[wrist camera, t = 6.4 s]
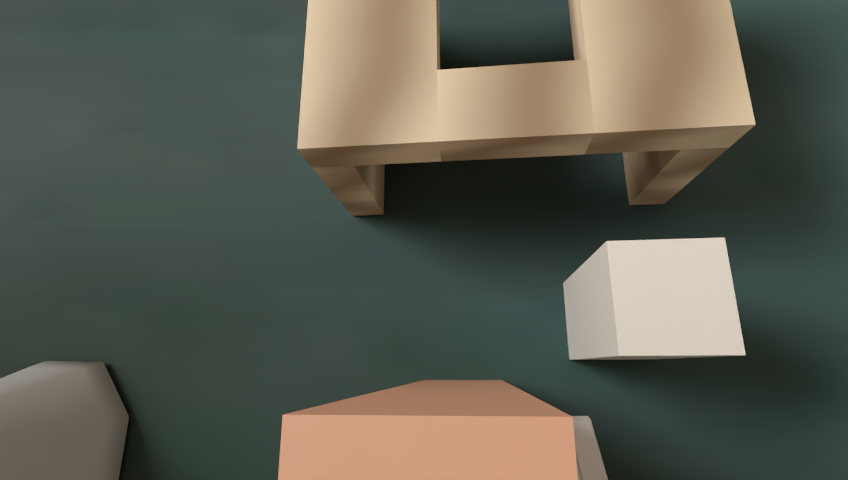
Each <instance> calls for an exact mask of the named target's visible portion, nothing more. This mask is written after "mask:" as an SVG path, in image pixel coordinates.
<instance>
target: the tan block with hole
mask: <svg viewBox="0 0 848 480" xmlns="http://www.w3.org/2000/svg"><path fill="white" fill-rule="evenodd" d="M568 1H569V11H570V21H571V31H572V41H573V50H574V60H573V61H558V62H544V63H529V64H515V65H500V66H486V67H472V68H457V69H443V70H440V23H439V0H308V11H307V25H306V38H305V52H304V65H303V79H302V92H301V105H300V119H299V132H298V146H297V149H298V150H299V152H300V153H301V154H302V155H303V157H304V158H305V159H306V160H307V161H308V163H309V164H310V165H311V166H312V167H313V169H314V170H315V171H316V172H317V174H318V175H319V176H320V177H321V178H322V180H323V181H324V182H325V183H326V185H327V186H328V187H329V188H330V189H331V191H332V192H333V193H334V194H335V195H336V197H337V198H338V199H339V200H340V202H341V203H342V204H343V205H344V206H345V208H346V209H347V210H348V211H349V212H350V214H351V215H352V216H356V215H383V214H384V171H385V164H400V163H421V162H441V161H462V160H482V159H503V158H523V157H544V156H564V155H585V154H605V153H622V154H623V162H624V170H625V178H626V186H627V194H628V202H629V205H649V204H665V203H666V202H667V201H668V200H670V199H671V198H672V197H673V196H674V195H675V194H676V193H678V192H679V191H680V190H681V189H682V188H683V187H685V186H686V185H687V184H688V183H689V182H690V181H691V180H693V179H694V178H695V177H696V176H697V175H698V174H699V173H701V172H702V171H703V170H704V169H705V168H706V167H708V166H709V165H710V164H711V163H712V162H713V161H714V160H716V159H717V158H718V157H719V156H720V155H721V154H722V153H724V152H725V151H726V150H727V149H728V148H729V147H730V146H732V145H733V144H734V143H735V142H736V141H737V140H739V139H740V138H741V137H742V136H743V135H744V134H745V133H747V132H748V131H749V130H750V129H751V128H752V127H753V126H755V125H756V123H755V119H754V114H753V109H752V104H751V100H750V95H749V90H748V85H747V81H746V76H745V71H744V66H743V62H742V57H741V52H740V47H739V42H738V38H737V33H736V28H735V23H734V19H733V14H732V9H731V4H730V0H568Z"/></svg>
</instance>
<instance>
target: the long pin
mask: <svg viewBox="0 0 848 480" xmlns="http://www.w3.org/2000/svg"><path fill="white" fill-rule="evenodd" d="M278 480H578V475H577V463H576V451H575V438H574V426H573V417H572V416H570V415H568V414H566V413H564V412H563V411H561V410H559V409H557V408H555V407H553V406H551V405H549V404H547V403H545V402H543V401H541V400H539V399H538V398H536V397H534V396H532V395H530V394H528V393H526V392H524V391H522V390H520V389H518V388H516V387H514V386H513V385H511V384H509V383H507V382H505V381H503V380H422V381H418V382H414V383H410V384H406V385H402V386H398V387H394V388H390V389H386V390H381V391H377V392H373V393H369V394H365V395H361V396H357V397H353V398H349V399H345V400H341V401H336V402H332V403H328V404H324V405H320V406H316V407H312V408H308V409H304V410H300V411H296V412H291V413H287V414H283V418H282V432H281V446H280V460H279V474H278Z"/></svg>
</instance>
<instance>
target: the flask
mask: <svg viewBox="0 0 848 480" xmlns="http://www.w3.org/2000/svg"><path fill="white" fill-rule="evenodd" d="M128 421H129V415H128V413H127V411H126V409H125V407H124V405H123V403H122V401H121V398H120V396H119V394H118V392H117V390H116V388H115V386H114V384H113V381H112V379H111V377H110V375H109V373H108V371H107V369H106V367H105V364H104V362H77V361H45V362H42V363H39V364H36V365H34V366H31V367H28V368H25V369H23V370H20V371H18V372H15V373H13V374H10V375H8V376H5V377H3V378H0V480H119V474H120V468H121V462H122V456H123V450H124V444H125V439H126V433H127V427H128Z"/></svg>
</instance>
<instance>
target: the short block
mask: <svg viewBox="0 0 848 480" xmlns="http://www.w3.org/2000/svg"><path fill="white" fill-rule="evenodd" d="M563 288H564V300H565V312H566V325H567V337H568V349H569V360H639V359H672V358H695V357H717V356H740V355H746V354H745V348H744V343H743V337H742V331H741V326H740V320H739V314H738V309H737V303H736V298H735V292H734V286H733V281H732V275H731V270H730V264H729V258H728V253H727V247H726V241H725V238H692V239H658V240H624V241H606V242H605V243H604V244H603V245H602V246H601V247H600V248H599V249H598V250H597V251H596V252H595V253H594V254H593V255H592V256H591V257H590V258H588V259H587V260H586V261H585V262H584V263H583V264H582V265H581V266H580V267H579V268H578V269H577V270H576V271H575V272H574V273H573V274H572V275H571V276H570V277H569V278H568V279H567V280H566V281H565V282H564V283H563Z"/></svg>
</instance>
